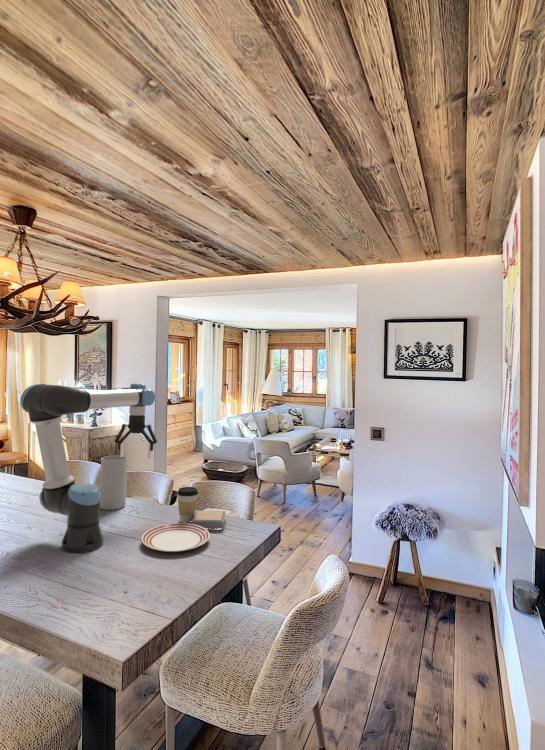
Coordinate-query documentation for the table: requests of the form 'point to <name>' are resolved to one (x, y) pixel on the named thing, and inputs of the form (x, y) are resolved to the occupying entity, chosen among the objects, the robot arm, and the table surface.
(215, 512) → the trivet base
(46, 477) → the robot arm
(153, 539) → the dinner plate
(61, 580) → the table surface
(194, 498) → the coffee cup
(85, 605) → the table surface
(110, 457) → the cylinder vase
